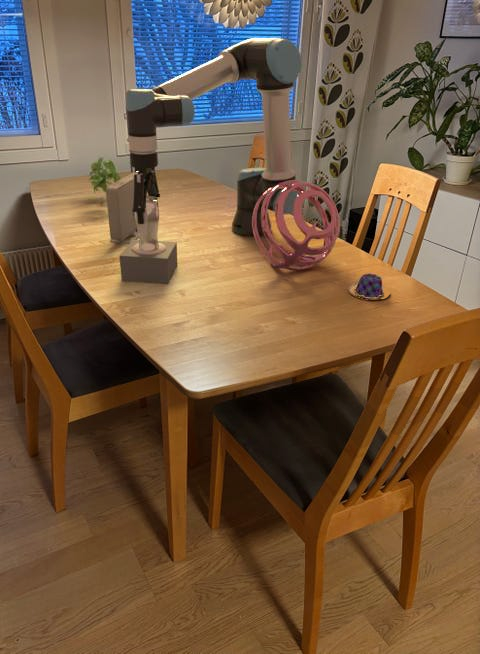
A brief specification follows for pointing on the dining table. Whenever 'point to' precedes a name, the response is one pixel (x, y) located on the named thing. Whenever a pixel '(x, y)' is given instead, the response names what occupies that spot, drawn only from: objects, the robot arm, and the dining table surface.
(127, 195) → the network device
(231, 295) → the dining table surface
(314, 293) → the dining table surface
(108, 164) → the plant cuttings
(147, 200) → the beer glass
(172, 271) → the plate
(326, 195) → the spiral basket
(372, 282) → the sun hat
